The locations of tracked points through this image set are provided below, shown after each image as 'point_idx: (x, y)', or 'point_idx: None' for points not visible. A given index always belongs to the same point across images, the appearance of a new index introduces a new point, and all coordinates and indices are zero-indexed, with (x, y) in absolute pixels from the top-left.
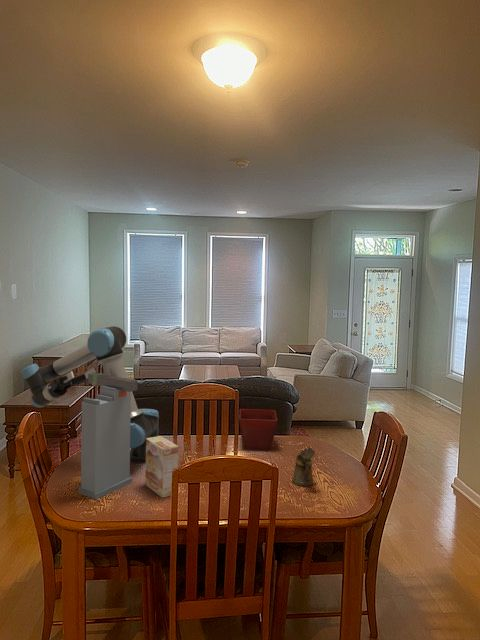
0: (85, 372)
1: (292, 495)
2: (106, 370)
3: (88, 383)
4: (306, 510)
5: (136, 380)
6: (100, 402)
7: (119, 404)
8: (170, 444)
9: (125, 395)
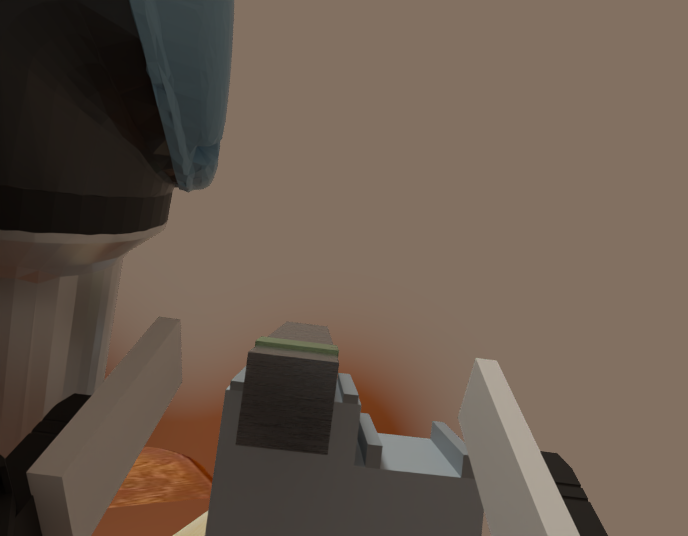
0: (85, 445)
1: (130, 496)
2: (99, 333)
3: (327, 451)
4: (184, 481)
5: (292, 322)
6: (409, 444)
7: None
8: None
9: None
